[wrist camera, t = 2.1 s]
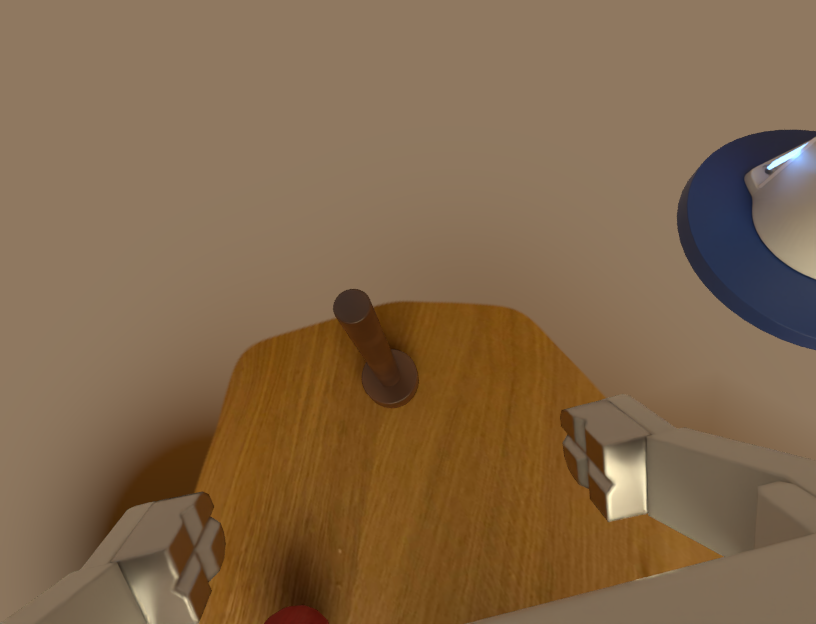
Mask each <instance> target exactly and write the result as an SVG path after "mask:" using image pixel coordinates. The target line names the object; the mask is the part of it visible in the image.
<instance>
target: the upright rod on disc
mask: <svg viewBox="0 0 816 624" xmlns="http://www.w3.org/2000/svg"><path fill="white" fill-rule="evenodd" d="M333 311H334V314H335V316H336V318H337V319H338V321H339V322H340V324H341V325H342V327H343V328H344V330H345V331H346V333H347V334H348V336H349V337H350V338H351V340H352V341H353V343H354V344H355V346H356V347H357V349H358V350H359V352H360V353H361V355H362V356H363V358H364V359H365V361H366V364H365V366H364V368H363V372H362V384H363V387H364V389H365V391H366V393H367V394H368V395H369V396H370V397H371V399H372V400H373V401H375V402H376V403H377V404H378V405H380V406H383V407H387V408H397V407H400V406H403V405H405V404H406V403H408V402H409V401H410V400H411V399H412V398H413V397H414V395H415V393H416V391H417V388H418V383H419V379H418V373H417V369H416V366H415V364H414V362H413V360H412V359H411V358H410V357H409V356H408V355H407V354H405V353H404V352H402V351H399V350H395V349H390V347H389V344H388V342H387V340H386V337H385V335H384V332H383V330H382V328H381V325H380V323H379V320H378V318H377V315H376V313H375V311H374V308H373V306H372V304H371V301H370V299H369V297H368V295H367V294H366V293H365V292H363V291H361V290H358V289H350V290H346V291H344V292H342V293H341V294H340V295H339V296H338V297H337V298H336V300H335V302H334V305H333Z"/></svg>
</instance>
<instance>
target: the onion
mask: <svg viewBox="0 0 816 624" xmlns="http://www.w3.org/2000/svg"><path fill="white" fill-rule="evenodd" d="M264 624H329V622H328V620H327V619H326V618H325V617H324V616H323V615H322V614H321V613H320V612H319V611H318V610H316V609H314V608H311V607H308V606H305V605H298V606H289V607H286V608H283V609H282V610H280V611H278V612H277V613H275V614H273V615H272V616H270V617H269V618H268V619H267V620H266V622H265V623H264Z"/></svg>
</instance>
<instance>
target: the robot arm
mask: <svg viewBox="0 0 816 624" xmlns="http://www.w3.org/2000/svg"><path fill="white" fill-rule="evenodd" d="M744 181H745V184H746V186H747V188H748V190H749V192H750V194H751V196H752V217H753V222H754V226H755V228H756V231H757V233H758V235H759V236H760V238H761V240H762V241H763V242H764V244H765V245H766V246H767V248H768V249H769V250H770V251H771V252H772V253H773V254H774V255H775V256H776V257H778V258H779V259H780V260H781V261H782V262H784V263H785V264H787V265H788V266H790V267H791V268H793V269H794V270H796V271H798V272H800V273H802V274H804V275H806V276H809V277H811V278H814V279H816V137H814V138H813V139H812V140H810V141H807V142H805V143H803V144H801V145H799V146H797V147H795V148H793V149H791V150H789V151H787V152H785V153H783V154H781V155H779V156H777V157H775V158H773V159H771V160H769V161H767V162H765V163H763V164H761V165H759V166H757V167H755V168H753V169H752V170H751V171H749V172H748V173H747V174H746V175H745V177H744ZM560 420H561V427H562V428H563V429H564V430H565V431H566V432H567V436H566V438H565V440H564V441H563V451H564V457H565V460H566V463H567V466H568V469H569V470H570V472H571V474H572V476H573V477H574V479H575V480H576V481H577V483H578V484H579V485H581V486H583V487H586V488H588V489H589V493H590V499H591V501H592V502H593V503H594V505H595V506H596V507H597V508H598V510H599V511H600V512H601V513H602V515H603V516H604V517H605V518H606V520H607V521H608V522H610V521H615V520H620V519H624V518H629V517H633V516H638V515H643V514H647V513H648V515H649V516H651V517H652V518H654V519H656V520H658V521H660V522H662V523H663V524H665V525H667V526H669V527H671V528H673V529H674V530H676V531H678V532H680V533H682V534H684V535H685V536H687V537H689V538H691V539H693V540H695V541H696V542H698V543H700V544H702V545H704V546H706V547H707V548H709V549H711V550H713V551H715V552H717V553H718V554H720V555H722V556H724V557H722V558H718V559H714V560H711V561H707V562H703V563H699V564H695V565H691V566H688V567H684V568H680V569H676V570H672V571H669V572H665V573H661V574H657V575H653V576H650V577H646V578H642V579H638V580H634V581H630V582H627V583H623V584H619V585H615V586H611V587H607V588H603V589H599V590H595V591H591V592H587V593H583V594H580V595H576V596H572V597H568V598H564V599H560V600H556V601H552V602H548V603H544V604H540V605H536V606H532V607H528V608H525V609H521V610H517V611H513V612H509V613H505V614H501V615H497V616H493V617H489V618H485V619H481V620H477V621H474V622H470V623H466V624H816V461H815V460H812V459H808V458H804V457H800V456H796V455H792V454H788V453H784V452H780V451H776V450H772V449H768V448H764V447H760V446H756V445H752V444H748V443H744V442H740V441H736V440H732V439H728V438H724V437H720V436H716V435H712V434H708V433H704V432H700V431H696V430H692V429H688V428H680V429H677V428H675V427H674V426H672V425H671V424H669V423H668V422H666V421H665V420H664V419H662V418H661V417H659V416H658V415H657V414H655V413H654V412H652V411H651V410H649V409H648V408H647V407H645V406H644V405H642V404H641V403H639V402H638V401H637V400H635V399H634V398H632V397H631V396H629V395H625V394H621V395H618V396H614V397H610V398H606V399H603V400H600V401H596V402H592V403H588V404H584V405H580V406H576V407H572V408H568V409H564V410H561V415H560ZM213 508H214V505H213V503H212V500H211V498H210V496H209V494H207V493H205V492H198V493H194V494H189V495H184V496H180V497H174V498H169V499H165V500H160V501H157V502H150V503H146V504H142V505H138V506H134V507H132V508H130V509H128V510H127V511H126V512H125V514H124V515H123V517H122V518H121V519H120V520H119V521H118V523H117V524H116V525H115V526H114V528H113V529H112V530H111V532H110V533H109V534H108V535H107V537H106V538H105V539H104V541H103V542H102V543H101V544H100V545H99V547H98V548H97V549H96V551H95V552H94V553H93V554H92V556H91V557H90V558H89V560H88V561H87V562H86V563H85V565H84V566H83V567H82V568H81V570H79V571H75V572H71V573H70V574H69V575H67V576H66V577H64V578H63V579H62V580H60V581H59V582H57V583H56V584H55V585H53V586H52V587H50V588H49V589H48V590H46V591H45V592H43V593H42V594H41V595H39V596H38V597H37V598H35V599H34V600H32V601H31V602H30V603H28V604H27V605H25V606H24V607H23V608H21V609H20V610H18V611H17V612H16V613H15V614H13V615H11V616H10V617H9V618H7V619H6V620H5V621H3V622H2V623H0V624H198V623H199V622H200V619H201V617H202V614H203V612H204V609H205V607H206V604H207V602H208V599H209V596H210V594H211V591H212V590H211V588H210V585H209V583H208V582H209V581H210V580H211V579H212V578H213V577H214V576H215V575H216V574H217V573H218V572H219V571H220V568H221V566H222V563H223V560H224V555H225V545H226V542H225V536H224V531H223V528H222V526H221V523H220V522H218V521H217V520H215V519H214V518H212V517H210V516H211V513H212V511H213Z"/></svg>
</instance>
